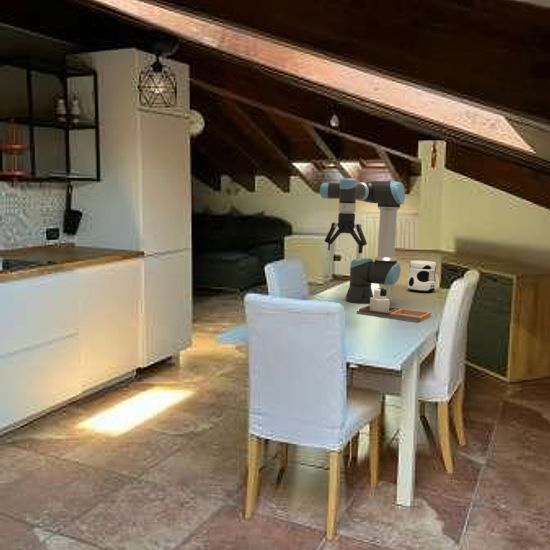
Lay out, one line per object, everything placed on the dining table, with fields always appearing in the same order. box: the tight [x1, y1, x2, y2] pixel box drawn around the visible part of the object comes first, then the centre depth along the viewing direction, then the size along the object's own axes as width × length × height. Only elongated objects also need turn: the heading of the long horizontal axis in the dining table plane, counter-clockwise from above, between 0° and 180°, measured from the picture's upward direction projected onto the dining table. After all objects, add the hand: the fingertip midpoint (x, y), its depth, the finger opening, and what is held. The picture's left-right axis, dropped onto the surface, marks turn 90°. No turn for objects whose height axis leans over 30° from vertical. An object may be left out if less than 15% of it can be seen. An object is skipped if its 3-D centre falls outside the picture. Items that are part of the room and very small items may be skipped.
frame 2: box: [390, 308, 432, 323], centre depth 292 cm, size 15×15×2 cm
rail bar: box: [356, 310, 421, 323], centre depth 288 cm, size 2×31×1 cm, turn 58°
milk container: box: [406, 259, 437, 293], centre depth 369 cm, size 17×17×18 cm
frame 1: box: [358, 304, 400, 315], centre depth 300 cm, size 15×15×2 cm
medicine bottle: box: [369, 287, 391, 312], centre depth 299 cm, size 7×7×12 cm
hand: (344, 259), depth 278 cm, fingers open, 13 cm apart
